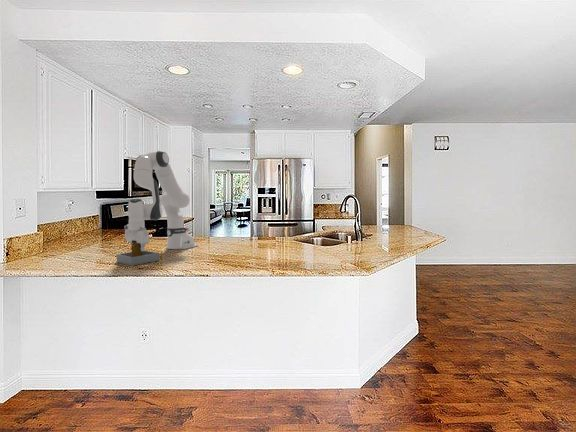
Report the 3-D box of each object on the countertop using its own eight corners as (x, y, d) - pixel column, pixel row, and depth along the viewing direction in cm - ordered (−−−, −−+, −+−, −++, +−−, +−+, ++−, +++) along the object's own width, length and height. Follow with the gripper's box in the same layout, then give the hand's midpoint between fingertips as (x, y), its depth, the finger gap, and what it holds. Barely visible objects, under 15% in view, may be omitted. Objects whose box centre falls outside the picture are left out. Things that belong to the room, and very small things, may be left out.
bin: (143, 257, 266) (143, 250, 265) (159, 261, 255) (159, 253, 255) (116, 262, 253) (116, 254, 252) (132, 265, 242) (131, 257, 241)
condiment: (133, 259, 257) (132, 239, 256) (147, 259, 257) (147, 239, 256) (129, 261, 250) (128, 241, 249) (143, 261, 250) (143, 241, 249)
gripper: (151, 227, 248) (152, 251, 249) (132, 225, 261) (133, 247, 262) (141, 228, 243) (142, 252, 244) (122, 226, 256) (123, 249, 257)
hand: (137, 250), depth 253 cm, fingers open, 8 cm apart
